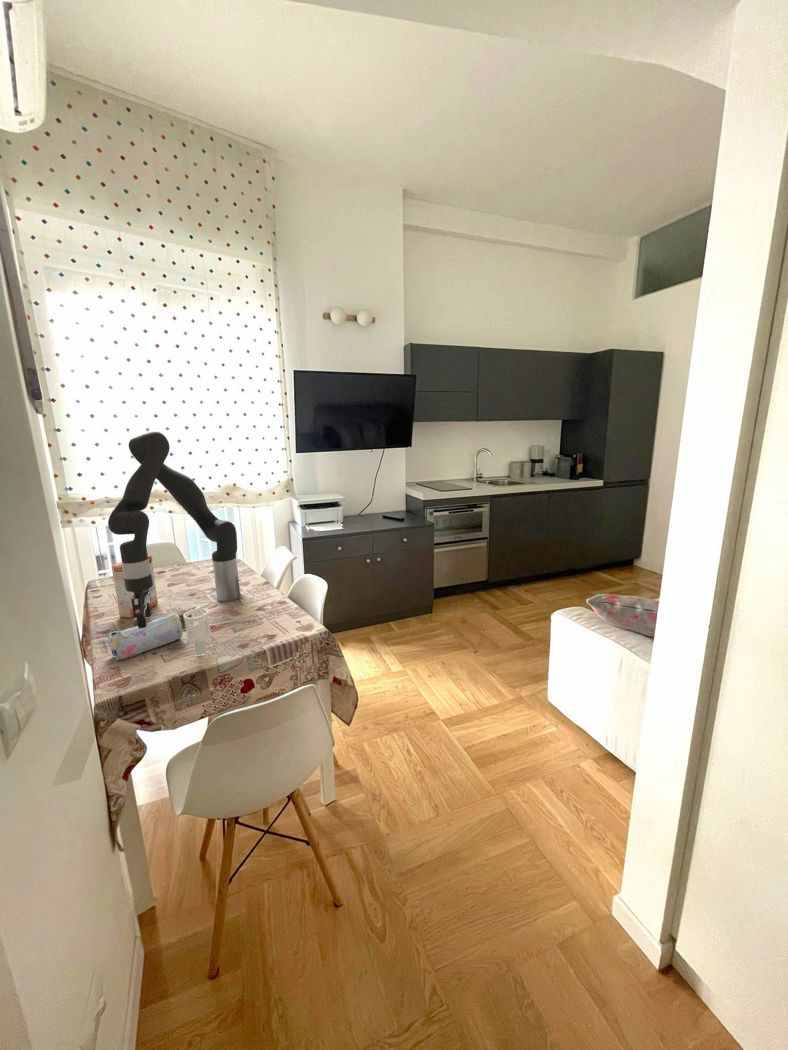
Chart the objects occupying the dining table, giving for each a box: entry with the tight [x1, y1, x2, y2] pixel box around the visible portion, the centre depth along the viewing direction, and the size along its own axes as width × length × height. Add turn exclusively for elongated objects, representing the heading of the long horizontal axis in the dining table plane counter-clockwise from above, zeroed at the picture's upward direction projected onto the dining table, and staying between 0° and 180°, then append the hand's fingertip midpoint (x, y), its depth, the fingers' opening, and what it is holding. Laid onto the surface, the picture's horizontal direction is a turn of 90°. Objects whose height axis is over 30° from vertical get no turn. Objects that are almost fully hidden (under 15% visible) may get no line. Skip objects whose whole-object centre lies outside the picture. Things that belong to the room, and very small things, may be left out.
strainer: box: [183, 605, 212, 655], centre depth 134 cm, size 7×7×15 cm
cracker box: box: [111, 555, 159, 619], centre depth 167 cm, size 14×6×21 cm, turn 168°
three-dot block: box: [132, 616, 151, 627], centre depth 154 cm, size 4×4×5 cm
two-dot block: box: [176, 608, 193, 628], centre depth 157 cm, size 4×4×5 cm
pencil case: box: [107, 613, 183, 661], centre depth 139 cm, size 21×9×10 cm, turn 134°
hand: (145, 621), depth 138 cm, fingers open, 8 cm apart
